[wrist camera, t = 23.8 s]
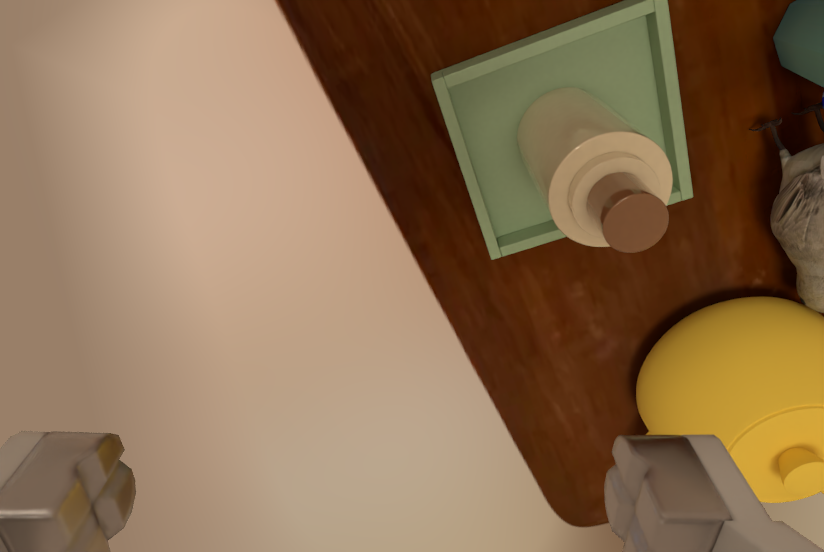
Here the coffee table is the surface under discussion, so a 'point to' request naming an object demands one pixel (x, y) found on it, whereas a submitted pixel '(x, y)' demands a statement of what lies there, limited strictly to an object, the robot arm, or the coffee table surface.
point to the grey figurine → (802, 213)
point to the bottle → (595, 171)
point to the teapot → (745, 390)
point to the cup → (803, 40)
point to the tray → (548, 70)
